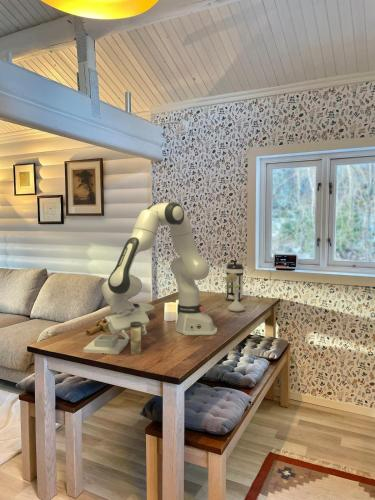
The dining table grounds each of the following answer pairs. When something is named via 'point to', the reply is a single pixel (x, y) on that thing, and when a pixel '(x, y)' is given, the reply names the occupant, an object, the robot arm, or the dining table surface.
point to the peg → (135, 338)
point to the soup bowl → (146, 307)
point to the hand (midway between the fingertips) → (136, 336)
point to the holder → (106, 345)
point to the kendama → (98, 327)
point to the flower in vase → (235, 305)
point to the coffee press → (238, 271)
